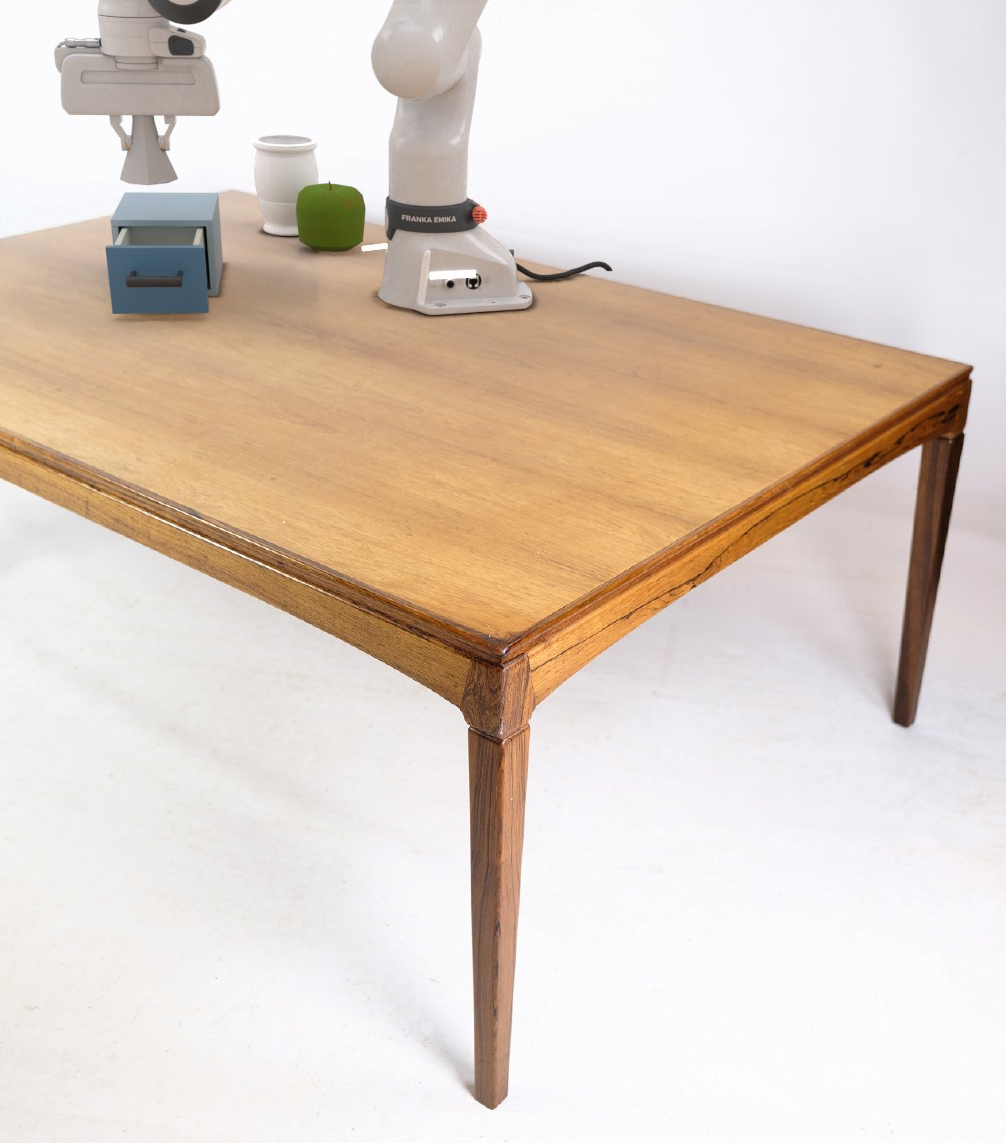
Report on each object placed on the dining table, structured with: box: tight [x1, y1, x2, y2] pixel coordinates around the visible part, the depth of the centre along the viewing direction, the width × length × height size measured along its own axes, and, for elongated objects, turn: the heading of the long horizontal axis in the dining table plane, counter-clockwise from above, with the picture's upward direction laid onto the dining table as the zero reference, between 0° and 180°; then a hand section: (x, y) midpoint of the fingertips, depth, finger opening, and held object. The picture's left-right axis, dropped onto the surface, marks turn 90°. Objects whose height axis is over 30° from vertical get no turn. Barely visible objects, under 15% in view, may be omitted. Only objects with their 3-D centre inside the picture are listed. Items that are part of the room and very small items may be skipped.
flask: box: [119, 115, 179, 186], centre depth 172 cm, size 7×7×10 cm
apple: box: [296, 180, 367, 253], centre depth 209 cm, size 11×11×11 cm
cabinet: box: [110, 191, 224, 297], centre depth 190 cm, size 18×14×11 cm
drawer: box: [105, 226, 210, 315], centre depth 177 cm, size 22×13×9 cm, turn 8°
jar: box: [252, 134, 319, 237], centre depth 217 cm, size 11×10×15 cm
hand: (146, 150), depth 173 cm, fingers closed on flask, 3 cm apart
